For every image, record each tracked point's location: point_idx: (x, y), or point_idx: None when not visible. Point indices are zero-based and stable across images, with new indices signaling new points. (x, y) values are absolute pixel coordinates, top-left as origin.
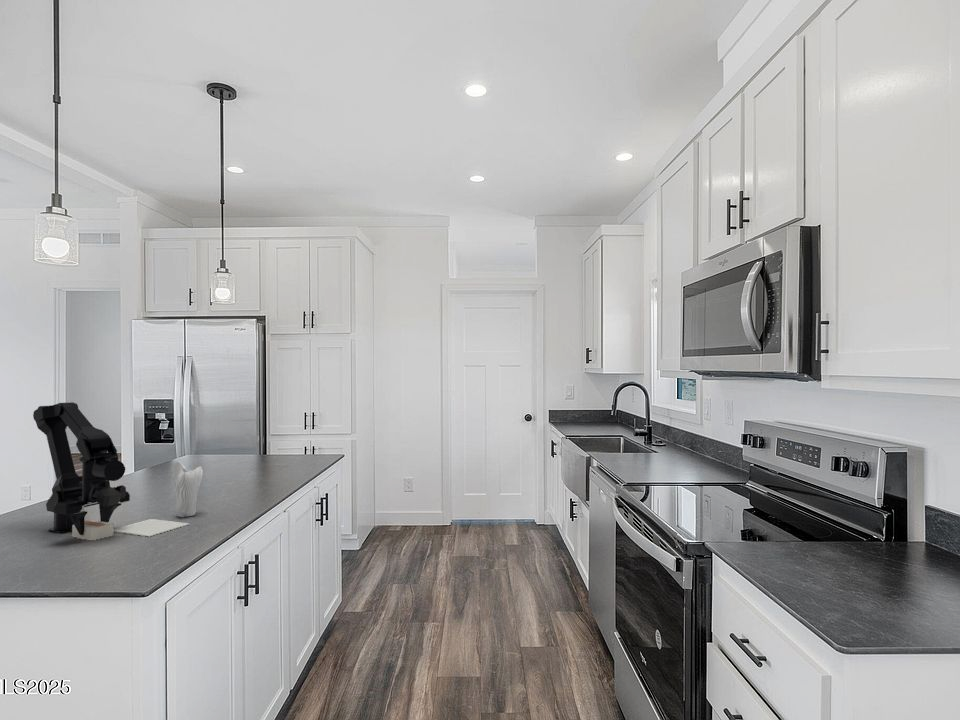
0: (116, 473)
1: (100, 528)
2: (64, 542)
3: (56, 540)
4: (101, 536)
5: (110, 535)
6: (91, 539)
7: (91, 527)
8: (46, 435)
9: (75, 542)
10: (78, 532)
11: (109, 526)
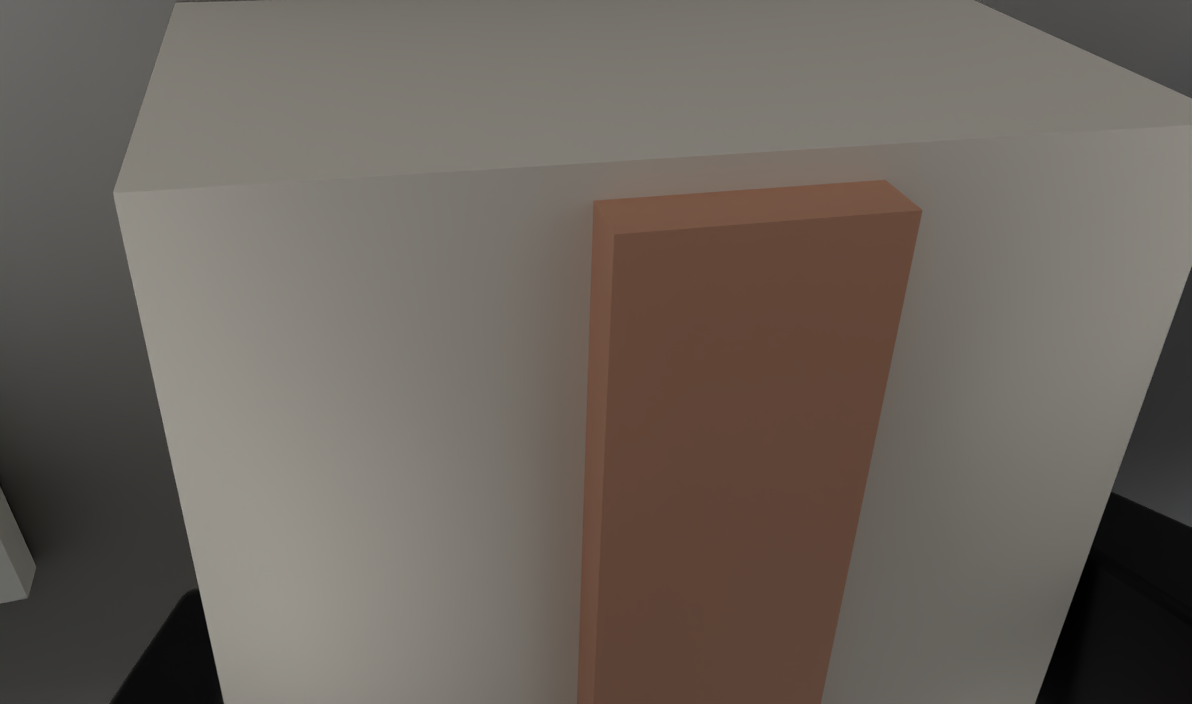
0: None
1: (825, 115)
2: (1147, 451)
3: None
4: (653, 6)
5: (294, 2)
6: (966, 3)
7: (1070, 346)
8: None
9: None
10: None
11: (365, 137)
